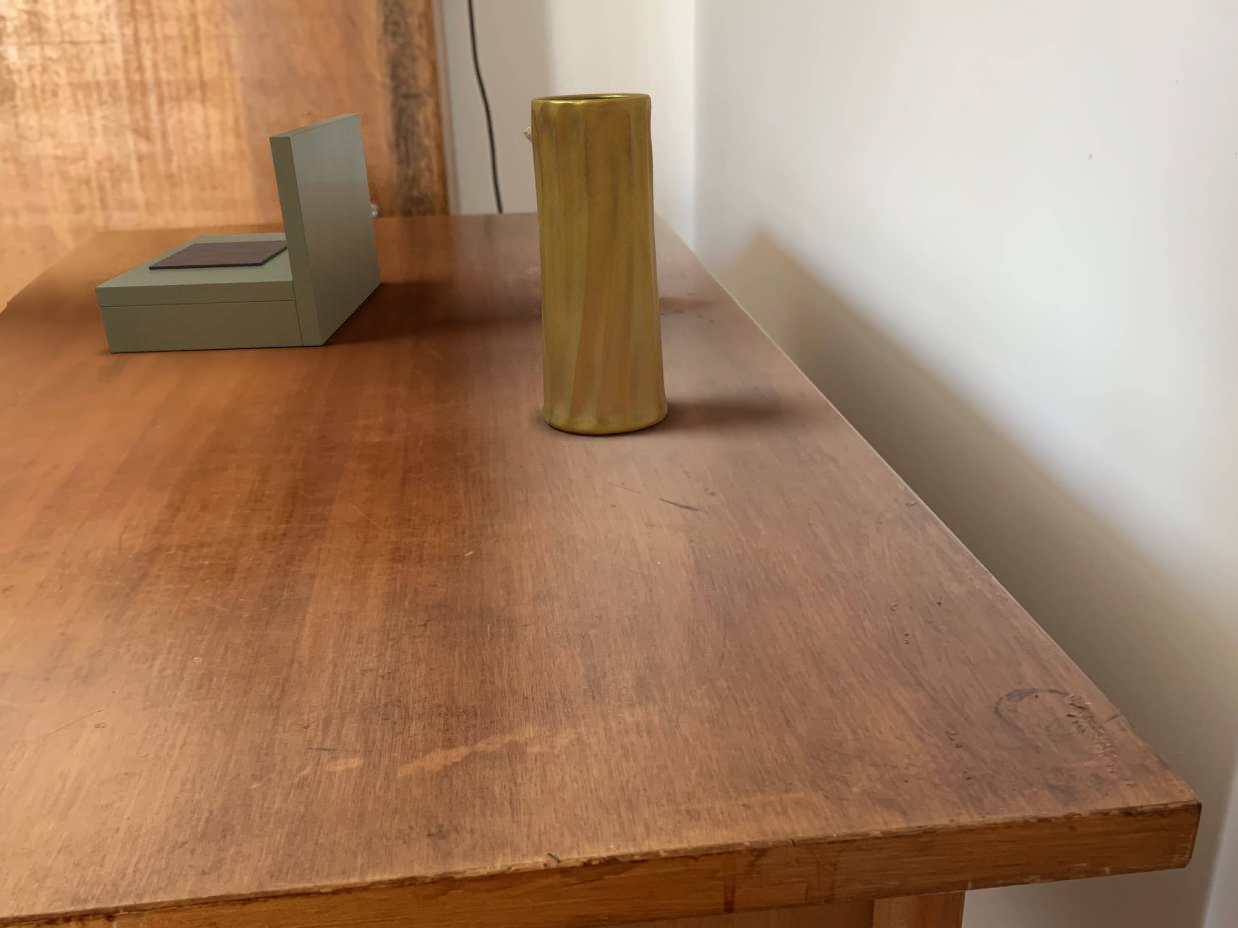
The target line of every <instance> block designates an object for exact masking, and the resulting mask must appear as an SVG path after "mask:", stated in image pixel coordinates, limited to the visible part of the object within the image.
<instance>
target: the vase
mask: <svg viewBox="0 0 1238 928" xmlns="http://www.w3.org/2000/svg"><path fill="white" fill-rule="evenodd" d="M530 126H531V134H532V143H531V146H532V158H533V159H532V160H533V171H534V182H535V183H534V184H535V194H536V195H535V197H536V206H537V219H538V243H539V245H538V247H539V260H540V291H541V292H540V293H541V294H540V295H541V296H540V297H541V353H542V354H541V355H542V357H541V359H542V384H543V385H542V387H543V405H542V406H543V407H542V417H543V419H544V421H545V422H546V424H548V425H549V426H550V427H553V428H555V429H557V430H560V431H564V432H567V433H575V434H582V435H611V434H622V433H627V432H628V433H629V432H635V431H638V430H643V429H646V428H649V427H653V426H655V425H656V424H659V423H660V422H661V421H663V420H664V419H665V417H666V416H667V414H668V412H669V411H668V410H669V407H668V406H669V405H668V401H667V396H666V390H665V377H664V361H663V360H664V358H663V346H662V345H663V343H662V326H661V312H660V311H661V309H660V297H659V283H658V271H657V265H658V264H657V247H656V233H655V230H656V229H655V205H654V204H655V203H654V201H655V200H654V156H653V142H652V141H653V139H652V98H651V96H650V95H649V93H641V92H640V93H639V92H636V93H635V92H634V93H633V92H620V93H619V92H611V93H610V92H609V93H607V92H606V93H579V94H577V93H576V94H561V95H549V96H547V95H546V96H540V97H539V96H538V97H533V98H531V99H530Z"/></svg>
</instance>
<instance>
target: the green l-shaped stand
mask: <svg viewBox="0 0 1238 928" xmlns="http://www.w3.org/2000/svg"><path fill="white" fill-rule="evenodd" d="M268 140H269V145H270V152H271V157H272V158H271V159H272V165H273V170H274V176H275V181H276V188H277V194H278V200H279V207H280V213H281V220H282V224H283V231H282V232H278V231H277V232H255V233H250V232H249V233H227V234H226V233H225V234H223V233H221V234H199V235H197V236H195V237H194V238H192V239H190V240H188V241H186V242H184V243H182V244H179V245H178V246H176V247H173V248H171V249H170V250H167V251H165V252H163V253H161V254H159V255H158V256H155V257H153V258H151V259H149V260H148V261H145V262H143V263H141V264H139V265H137V266H134V267H133V268H130V269H128V270H127V271H124V272H122V273H121V274H118V275H116V276H114V277H113V278H110V279H108V280H106V281H104V282H102V283H100V284H98V285H96V286H94V291H95V294H96V299H97V303H98V306H99V311H100V315H101V320H102V323H103V328H104V332H105V337H106V340H107V345H108V349H109V352H110V353H114V354H115V353H117V354H118V353H141V352H142V353H143V352H144V353H145V352H171V351H172V352H173V351H174V352H175V351H200V350H202V351H205V350H230V349H231V350H232V349H259V348H260V349H261V348H285V347H286V348H287V347H288V348H289V347H317V346H318V347H319V346H323V345H324V344H325V343H326V342H327V341H328V340H329V339H330V338H331V337H332V335H333V334H334V333H336V331H337V330H338V329H339V328H340V327H341V326H342V325H343V324H344V323H345V322H346V321H347V320H348V319H349V318H350V316H351V315H352V314H353V313H354V312H355V311H356V310H357V309H359V307H360V306H361V305H362V304H363V303H364V302H365V301H366V299H367V298H368V297H369V296H370V295H371V294H372V293H374V291H375V290H376V289H377V288H378V287H379V286H380V285H381V274H380V273H381V272H380V267H379V266H380V265H379V258H378V249H377V242H376V234H375V227H374V219H373V212H372V211H373V210H372V204H371V202H372V201H371V196H370V188H369V180H368V172H367V165H366V157H365V150H364V149H365V148H364V141H363V134H362V125H361V120H360V113H342V114H338V115H336V116H332V117H329V118H325V119H323V120H320V121H316V122H313V123H310V124H306V125H303V126H300V127H297V128H294V129H290V130H287V131H284V132H281V133H277V134H274V135H271V136H269V137H268Z"/></svg>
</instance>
